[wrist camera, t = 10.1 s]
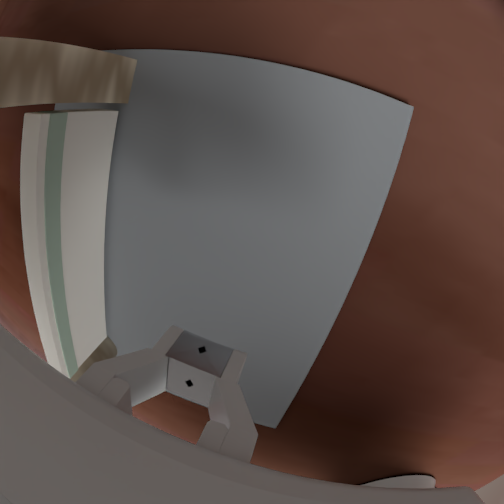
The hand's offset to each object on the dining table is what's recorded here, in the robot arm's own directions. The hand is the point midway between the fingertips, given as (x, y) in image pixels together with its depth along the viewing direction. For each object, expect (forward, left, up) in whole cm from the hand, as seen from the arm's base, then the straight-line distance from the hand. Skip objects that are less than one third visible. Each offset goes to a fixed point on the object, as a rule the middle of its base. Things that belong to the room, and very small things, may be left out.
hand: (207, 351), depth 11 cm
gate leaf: (-2, +12, -8) cm, 14 cm away
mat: (-3, +6, -9) cm, 11 cm away
